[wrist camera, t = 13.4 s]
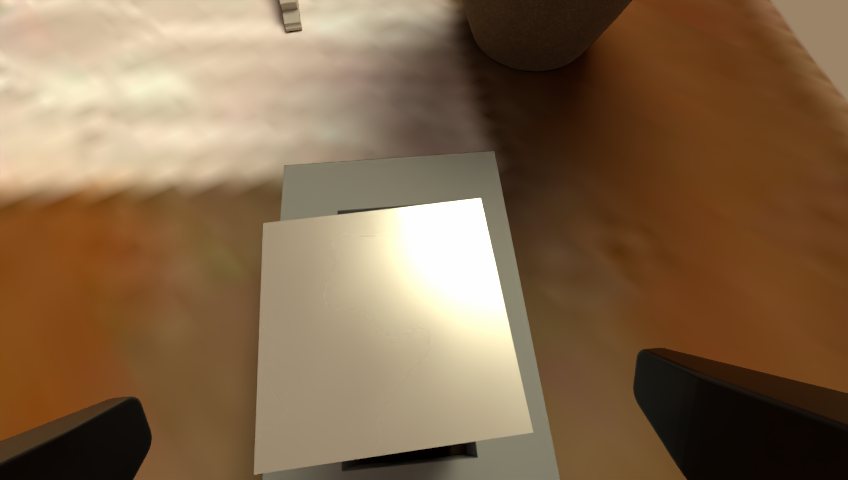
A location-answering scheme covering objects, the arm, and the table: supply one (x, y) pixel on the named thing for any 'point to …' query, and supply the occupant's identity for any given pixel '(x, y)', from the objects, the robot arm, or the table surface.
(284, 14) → the caliper
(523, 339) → the bore block
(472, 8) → the plant pot
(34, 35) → the table surface
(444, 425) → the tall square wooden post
